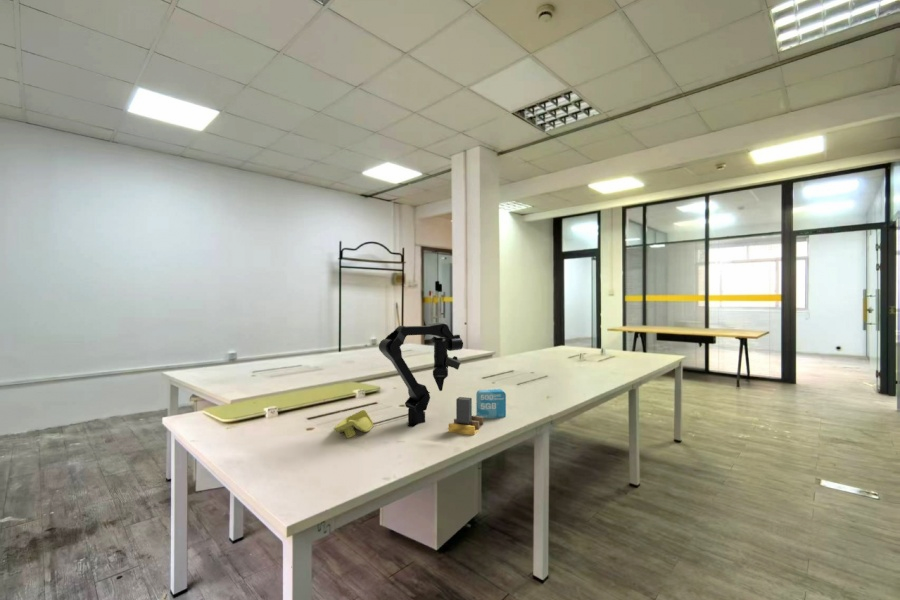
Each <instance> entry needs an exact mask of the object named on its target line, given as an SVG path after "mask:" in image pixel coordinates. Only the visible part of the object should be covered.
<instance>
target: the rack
mask: <svg viewBox="0 0 900 600" xmlns="http://www.w3.org/2000/svg"><path fill="white" fill-rule="evenodd" d="M483 425H484V418H483V417H479V416H477V415H472V426H470V425H461V424H456V418H453V423H450V422H449V423H448V432H449V433H453V434H461V435H462V434H463V435H471V436H475V435H476V434H477V432H478V431H479V430H480V429H481V428H482V427H483Z"/></svg>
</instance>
